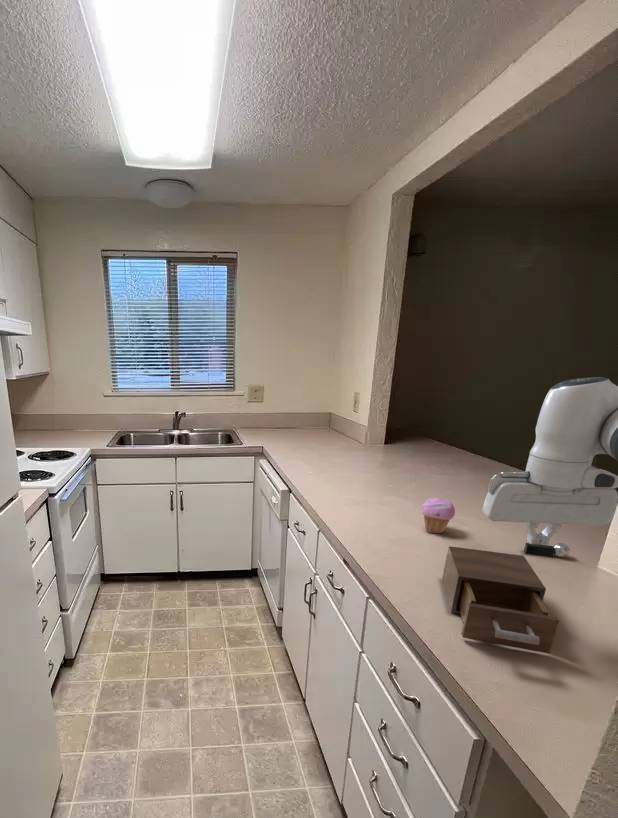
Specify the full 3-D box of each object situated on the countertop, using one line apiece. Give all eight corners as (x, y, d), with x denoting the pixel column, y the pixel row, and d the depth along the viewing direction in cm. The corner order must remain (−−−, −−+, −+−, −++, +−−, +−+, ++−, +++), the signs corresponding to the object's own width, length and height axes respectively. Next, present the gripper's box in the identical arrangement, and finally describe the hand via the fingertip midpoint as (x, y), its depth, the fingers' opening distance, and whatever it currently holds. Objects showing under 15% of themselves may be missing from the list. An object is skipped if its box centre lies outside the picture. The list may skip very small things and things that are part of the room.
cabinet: (534, 627, 84) (546, 588, 81) (450, 613, 89) (458, 576, 86) (514, 590, 97) (523, 555, 94) (442, 579, 101) (448, 546, 98)
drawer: (558, 671, 71) (570, 637, 69) (466, 653, 76) (474, 620, 73) (526, 611, 87) (534, 582, 85) (452, 599, 92) (458, 571, 89)
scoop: (522, 549, 116) (525, 537, 115) (564, 554, 113) (568, 542, 112) (526, 555, 113) (529, 542, 111) (569, 560, 110) (573, 547, 108)
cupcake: (416, 523, 133) (421, 492, 130) (447, 526, 131) (453, 495, 127) (420, 534, 125) (425, 502, 122) (453, 538, 123) (460, 505, 119)
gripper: (500, 475, 76) (484, 547, 80) (633, 479, 72) (608, 553, 77) (484, 466, 81) (470, 534, 86) (607, 469, 78) (585, 539, 83)
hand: (536, 543), depth 82 cm, fingers closed
